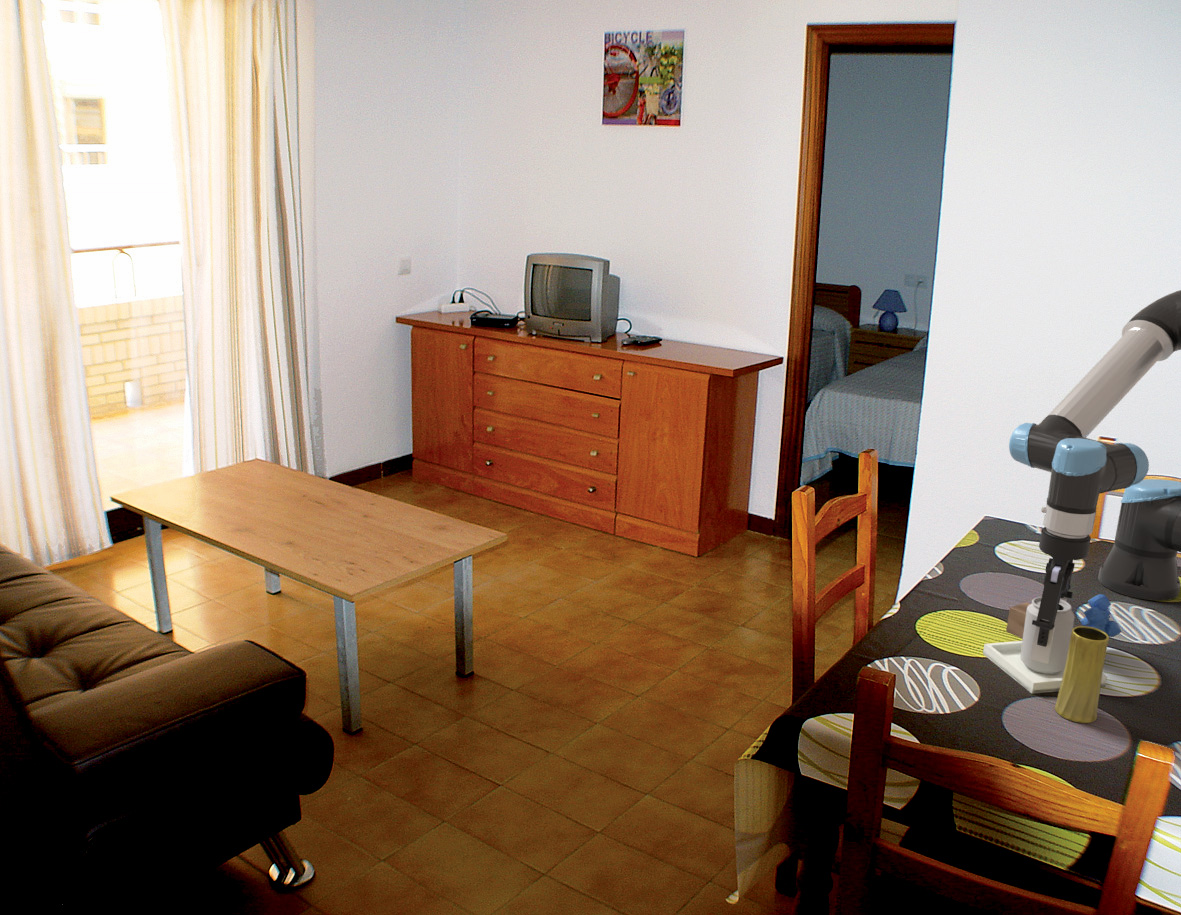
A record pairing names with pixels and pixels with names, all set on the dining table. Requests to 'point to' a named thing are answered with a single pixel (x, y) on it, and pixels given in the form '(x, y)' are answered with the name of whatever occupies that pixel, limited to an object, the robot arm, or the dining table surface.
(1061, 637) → the can
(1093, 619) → the grapes
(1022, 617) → the walnut block
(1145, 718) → the dining table surface
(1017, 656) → the tray
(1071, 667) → the vase
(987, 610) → the dining table surface
